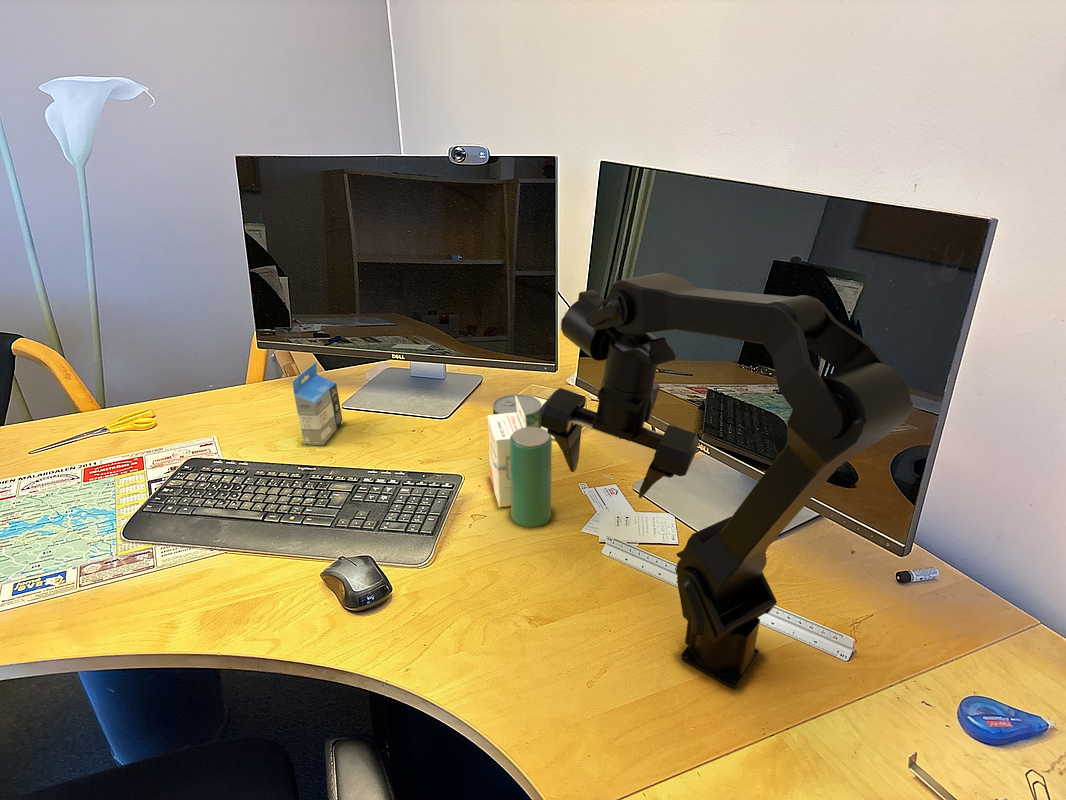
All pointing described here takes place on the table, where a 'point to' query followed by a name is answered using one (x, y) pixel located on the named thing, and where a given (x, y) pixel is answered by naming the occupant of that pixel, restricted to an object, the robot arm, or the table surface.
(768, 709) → the table surface
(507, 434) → the ink cartridge box
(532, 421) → the canned tomato
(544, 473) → the can
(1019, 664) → the table surface
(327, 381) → the label tape box
